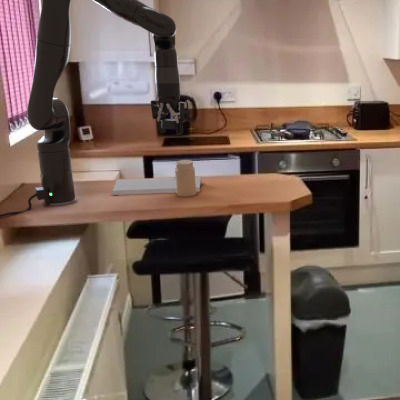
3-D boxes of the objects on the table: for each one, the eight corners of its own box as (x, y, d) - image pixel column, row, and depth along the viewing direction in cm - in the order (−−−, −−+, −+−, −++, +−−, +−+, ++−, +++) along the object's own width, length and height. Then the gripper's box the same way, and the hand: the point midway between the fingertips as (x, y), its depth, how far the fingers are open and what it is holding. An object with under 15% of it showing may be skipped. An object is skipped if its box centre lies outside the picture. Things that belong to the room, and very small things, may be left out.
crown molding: (112, 195, 201) (111, 185, 200) (119, 186, 213) (118, 177, 212) (200, 192, 205) (199, 181, 204) (202, 183, 217) (201, 174, 216)
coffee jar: (180, 198, 197) (178, 165, 194) (174, 192, 203) (171, 161, 199) (199, 195, 201) (196, 162, 197) (192, 189, 206) (190, 158, 202)
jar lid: (164, 126, 196) (163, 118, 195) (184, 126, 196) (184, 119, 195) (158, 128, 189) (158, 120, 189) (179, 128, 189) (179, 121, 189)
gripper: (142, 81, 189) (146, 133, 193) (176, 82, 182) (180, 137, 186) (159, 79, 195) (162, 130, 199) (193, 81, 188) (196, 133, 192)
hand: (171, 133), depth 193 cm, fingers closed on jar lid, 6 cm apart
